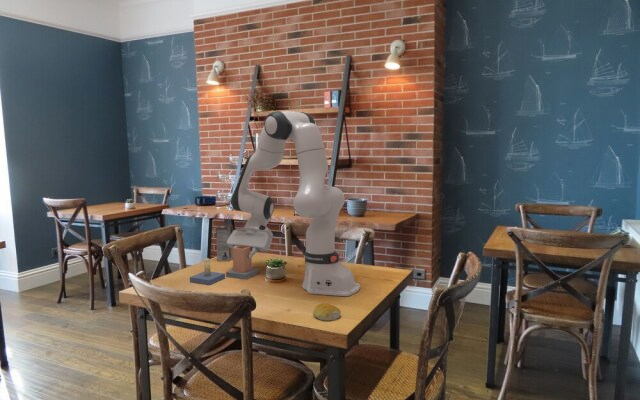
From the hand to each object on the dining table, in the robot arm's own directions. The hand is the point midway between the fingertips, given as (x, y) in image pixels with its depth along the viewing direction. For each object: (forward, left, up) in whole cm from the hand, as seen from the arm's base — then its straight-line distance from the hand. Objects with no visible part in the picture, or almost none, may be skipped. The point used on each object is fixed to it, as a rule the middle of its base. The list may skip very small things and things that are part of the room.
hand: (242, 256), depth 189 cm
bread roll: (-51, +27, -8) cm, 58 cm away
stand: (0, 0, -8) cm, 8 cm away
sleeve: (0, 0, -6) cm, 6 cm away
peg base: (+9, +12, -8) cm, 17 cm away
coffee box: (+23, -19, -8) cm, 31 cm away
